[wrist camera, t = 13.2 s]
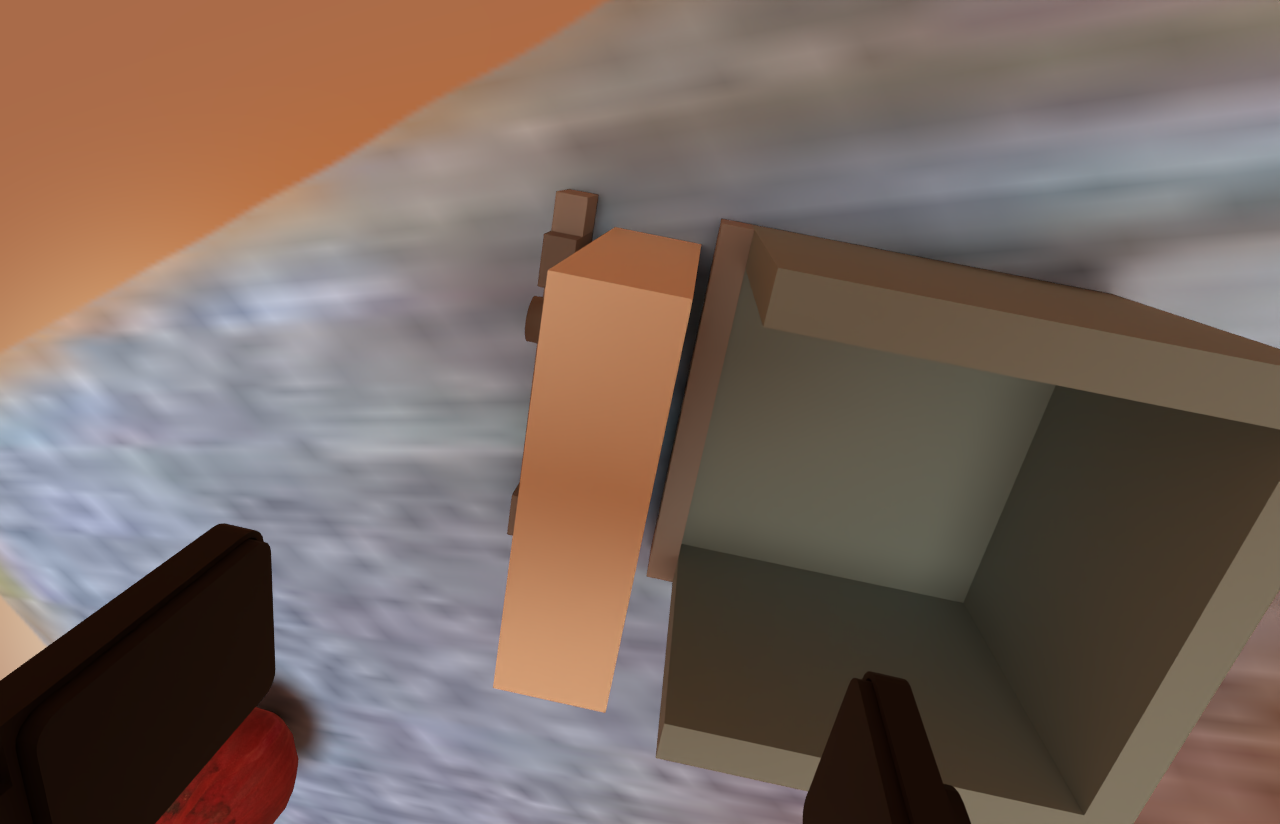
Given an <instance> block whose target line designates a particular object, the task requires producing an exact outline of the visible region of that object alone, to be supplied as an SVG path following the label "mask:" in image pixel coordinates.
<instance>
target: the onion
mask: <svg viewBox="0 0 1280 824" xmlns="http://www.w3.org/2000/svg"><path fill="white" fill-rule="evenodd" d="M297 767H298V756H297V752H296V748H295V743H294V739H293V734H292V733H291V731H290V730H289V728H288V727H287V725H286V724H285V722H284V721H283V720H282V719H281V718H280V717H279V716H278V715H277V714H275V713H273V712H270V711H267V710H264V709H260V708H258V707H255V708H254V709H253V711H252V712H251V713H250V714H249V715H248V716H247V718H246V719H245V720H244V721H243V722H242V723H241V725H240V726H239V727H238V728H237V729H236V730H235V731H234V733H233V734H232V735H231V736H230V737H229V738H228V740H227V741H226V742H225V743H224V744H223V745H222V747H221V748H220V749H219V750H218V751H217V752H216V754H215V755H214V756H213V757H212V758H211V759H210V761H209V762H208V763H207V764H206V765H205V766H204V768H203V769H202V770H201V771H200V772H199V773H198V775H197V776H196V777H195V778H194V779H193V780H192V782H191V783H190V784H189V785H188V786H187V787H186V789H185V790H184V791H183V792H182V793H181V794H180V795H179V797H178V798H177V799H176V800H175V801H174V802H173V804H172V805H171V806H170V807H169V808H168V809H167V811H166V812H165V813H164V814H163V815H162V816H161V818H160V819H159V820H158V821H157V822H156V823H155V824H273V823H274V822H275V821H276V819H277V818H278V817H279V816H280V814H281V813H282V812H283V810H284V809H285V808H286V806H287V803H288V801H289V799H290V796H291V794H292V792H293V789H294V784H295V779H296V774H297Z"/></svg>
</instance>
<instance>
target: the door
mask: <svg viewBox="0 0 1280 824" xmlns="http://www.w3.org/2000/svg"><path fill="white" fill-rule="evenodd" d="M700 250H701V244H697V243H692V242H687V241H682V240H677V239H672V238H667V237H662V236H657V235H652V234H647V233H642V232H637V231H632V230H627V229H622V228H617V227H614V228H613V229H611V230H610V231H608V232H607V233H605V234H603V235H602V236H600V237H599V238H597V239H596V240H594V241H593V242H591V243H589V244H588V245H586V246H585V247H583V248H582V249H580V250H578V251H577V252H575V253H574V254H572V255H571V256H569V257H568V258H566V259H564V260H563V261H561V262H560V263H558V264H557V265H555V266H554V267H552V268H550V269H549V270H548V272H547V280H546V288H545V295H544V298H543V297H538V296H534V297H533V298H532V300H531V303H530V305H529V309H528V313H527V317H526V324H525V339H526V341H529V342H534V343H538V349H537V356H536V364H535V372H534V379H533V387H532V395H531V402H530V410H529V418H528V425H527V433H526V440H525V448H524V456H523V463H522V471H521V479H520V486H519V494H518V502H517V509H516V517H515V524H514V532H513V540H512V547H511V555H510V563H509V570H508V578H507V586H506V593H505V601H504V609H503V616H502V624H501V631H500V639H499V647H498V654H497V662H496V670H495V677H494V685H493V688H497V689H501V690H506V691H510V692H514V693H519V694H523V695H528V696H532V697H537V698H541V699H546V700H550V701H555V702H559V703H564V704H568V705H573V706H577V707H582V708H586V709H591V710H595V711H600V712H604V713H605V712H606V707H607V702H608V698H609V693H610V688H611V683H612V679H613V674H614V669H615V664H616V660H617V655H618V650H619V646H620V641H621V636H622V631H623V627H624V622H625V617H626V612H627V608H628V603H629V598H630V594H631V589H632V584H633V579H634V575H635V570H636V565H637V560H638V556H639V551H640V546H641V542H642V537H643V532H644V527H645V523H646V518H647V513H648V508H649V504H650V499H651V494H652V490H653V485H654V480H655V475H656V471H657V466H658V461H659V456H660V452H661V447H662V442H663V438H664V433H665V428H666V423H667V419H668V414H669V409H670V405H671V400H672V395H673V390H674V386H675V381H676V376H677V371H678V367H679V362H680V357H681V353H682V348H683V343H684V338H685V334H686V329H687V324H688V319H689V315H690V310H691V305H692V301H693V295H694V288H695V282H696V275H697V269H698V263H699V256H700Z"/></svg>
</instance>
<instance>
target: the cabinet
mask: <svg viewBox="0 0 1280 824" xmlns="http://www.w3.org/2000/svg"><path fill="white" fill-rule="evenodd" d="M597 201H598V195H597V194H592V193H587V192H582V191H577V190H571V189H567V190H562V191H556V199H555V207H554V215H553V223H552V231H550V232H548V233H545V234H544V239H543V247H542V255H541V263H540V271H539V279H538V286H539V287H544V294H543V298H544V295H545V288H546V280H547V272H548V270H549V269H550V268H552V267H554V266H555V265H557V264H558V263H560V262H561V261H563V260H564V259H566V258H568V257H569V256H571V255H572V254H574V253H575V252H577V251H578V250H580V249H582V248H583V247H585V246H586V245H588V244H589V243H591V242H592V235H593V228H594V221H595V215H596V208H597ZM537 349H538V343H537ZM537 349H536V356H537ZM535 364H536V357H535ZM534 372H535V365H534ZM533 379H534V373H533ZM532 387H533V381H532ZM531 395H532V389H531ZM530 402H531V397H530ZM529 410H530V405H529ZM528 418H529V413H528ZM527 425H528V421H527ZM526 433H527V429H526ZM525 440H526V437H525ZM524 448H525V444H524ZM523 456H524V452H523ZM522 463H523V460H522ZM521 471H522V468H521ZM520 479H521V476H520ZM519 486H520V483H519V484H518V486H517V488H516V489H515V491H514V493H513V494H512V499H511V508H510V516H509V524H508V532H507V534H508V535H513V532H514V524H515V517H516V509H517V502H518V494H519ZM512 540H513V539H512ZM647 577H652V578H657V579H661V580H666V581H671V582H673V583H672V594H671V604H670V614H669V625H668V635H667V646H666V656H665V666H664V677H663V687H662V698H661V708H660V718H659V729H658V739H657V749H656V758H659V759H663V760H668V761H672V762H677V763H682V764H686V765H691V766H695V767H700V768H704V769H709V770H713V771H718V772H722V773H727V774H731V775H736V776H741V777H745V778H750V779H754V780H759V781H763V782H768V783H772V784H777V785H781V786H786V787H790V788H795V789H800V790H804V791H809V788H810V786H811V783H812V780H813V778H814V775H815V772H816V770H817V767H818V765H819V762H820V759H821V757H822V754H823V751H824V749H825V746H826V743H827V741H828V738H829V736H830V733H831V730H832V728H833V725H834V722H835V720H836V717H837V714H838V712H839V709H840V707H841V704H842V701H843V699H844V696H845V693H846V691H847V688H848V685H849V683H850V681H851V680H852V679H853V678H858V679H862V678H863V676H864V674H865V673H866V672H867V671H872V672H876V673H880V674H885V675H889V676H894V677H898V678H902V679H906V680H907V681H908V682H909V684H910V686H911V689H912V692H913V695H914V698H915V701H916V704H917V707H918V710H919V713H920V716H921V719H922V722H923V725H924V728H925V731H926V734H927V737H928V740H929V743H930V746H931V749H932V752H933V755H934V758H935V761H936V764H937V767H938V769H939V772H940V775H941V778H942V781H943V784H947V785H951V786H953V787H954V788H955V789H956V790H957V791H958V792H959V794H960V796H961V798H962V800H963V802H964V805H965V808H966V810H967V813H968V816H969V819H970V822H971V824H1134V822H1135V820H1136V819H1137V817H1138V816H1139V814H1140V812H1141V811H1142V809H1143V808H1144V806H1145V804H1146V803H1147V801H1148V800H1149V798H1150V796H1151V795H1152V793H1153V792H1154V790H1155V788H1156V787H1157V785H1158V784H1159V782H1160V780H1161V779H1162V777H1163V775H1164V774H1165V772H1166V771H1167V769H1168V767H1169V766H1170V764H1171V763H1172V761H1173V759H1174V758H1175V756H1176V755H1177V753H1178V751H1179V750H1180V748H1181V747H1182V745H1183V743H1184V742H1185V740H1186V739H1187V737H1188V735H1189V734H1190V732H1191V731H1192V729H1193V727H1194V726H1195V724H1196V723H1197V721H1198V719H1199V718H1200V716H1201V715H1202V713H1203V711H1204V710H1205V708H1206V707H1207V705H1208V703H1209V702H1210V700H1211V699H1212V697H1213V695H1214V694H1215V692H1216V691H1217V689H1218V687H1219V686H1220V684H1221V683H1222V681H1223V679H1224V678H1225V676H1226V675H1227V673H1228V671H1229V670H1230V668H1231V667H1232V665H1233V663H1234V662H1235V660H1236V659H1237V657H1238V655H1239V654H1240V652H1241V651H1242V649H1243V647H1244V646H1245V644H1246V643H1247V641H1248V639H1249V638H1250V636H1251V635H1252V633H1253V631H1254V630H1255V628H1256V627H1257V625H1258V623H1259V622H1260V620H1261V619H1262V617H1263V615H1264V614H1265V612H1266V611H1267V609H1268V607H1269V606H1270V604H1271V603H1272V601H1273V599H1274V598H1275V596H1276V595H1277V593H1278V591H1279V590H1280V349H1278V348H1275V347H1272V346H1269V345H1266V344H1263V343H1260V342H1257V341H1254V340H1250V339H1247V338H1244V337H1241V336H1238V335H1235V334H1232V333H1229V332H1226V331H1223V330H1220V329H1217V328H1214V327H1211V326H1208V325H1205V324H1202V323H1199V322H1196V321H1193V320H1190V319H1187V318H1184V317H1180V316H1177V315H1174V314H1171V313H1168V312H1165V311H1162V310H1159V309H1156V308H1153V307H1150V306H1147V305H1144V304H1141V303H1138V302H1135V301H1132V300H1129V299H1126V298H1123V297H1120V296H1117V295H1113V294H1109V293H1104V292H1099V291H1094V290H1089V289H1083V288H1078V287H1073V286H1068V285H1063V284H1058V283H1052V282H1047V281H1042V280H1037V279H1032V278H1027V277H1021V276H1016V275H1011V274H1006V273H1001V272H996V271H990V270H985V269H980V268H975V267H970V266H965V265H959V264H954V263H949V262H944V261H939V260H934V259H928V258H923V257H918V256H913V255H908V254H902V253H897V252H892V251H887V250H882V249H877V248H871V247H866V246H861V245H856V244H851V243H846V242H840V241H835V240H830V239H825V238H820V237H815V236H809V235H804V234H799V233H794V232H789V231H784V230H778V229H773V228H768V227H763V226H758V225H752V224H747V223H742V222H737V221H732V220H727V219H721V223H720V228H719V233H718V237H717V242H716V247H715V251H714V256H713V261H712V265H711V270H710V275H709V279H708V284H707V289H706V293H705V298H704V303H703V307H702V312H701V317H700V321H699V326H698V331H697V335H696V340H695V345H694V349H693V354H692V359H691V363H690V368H689V373H688V377H687V382H686V387H685V392H684V396H683V401H682V406H681V410H680V415H679V420H678V424H677V429H676V434H675V438H674V443H673V448H672V452H671V457H670V462H669V466H668V471H667V476H666V480H665V485H664V490H663V494H662V499H661V504H660V508H659V513H658V518H657V522H656V527H655V532H654V536H653V541H652V546H651V551H650V557H649V564H648V570H647Z"/></svg>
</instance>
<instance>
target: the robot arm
mask: <svg viewBox="0 0 1280 824" xmlns="http://www.w3.org/2000/svg"><path fill="white" fill-rule="evenodd" d="M274 676H275V648H274V621H273V594H272V568H271V549H270V546H269V544H268V543H265V542H263V537H262V535H261V533H260V532H258V531H255V530H251V529H247V528H242V527H238V526H234V525H229V524H225V523H224V524H218V525H216V526H214V527H213V528H211V529H210V530H208V531H207V532H206V533H204V534H203V535H202V536H200V537H199V538H197V539H196V540H195V541H193V542H192V543H190V544H189V545H188V546H186V547H185V548H184V549H182V550H181V551H179V552H178V553H177V554H175V555H174V556H172V557H171V558H170V559H168V560H167V561H166V562H164V563H163V564H161V565H160V566H159V567H157V568H156V569H154V570H153V571H152V572H150V573H149V574H147V575H146V576H145V577H143V578H142V579H141V580H139V581H138V582H136V583H135V584H134V585H132V586H131V587H129V588H128V589H127V590H125V591H124V592H123V593H121V594H120V595H118V596H117V597H116V598H114V599H113V600H111V601H110V602H109V603H107V604H106V605H105V606H103V607H102V608H100V609H99V610H98V611H96V612H95V613H93V614H92V615H91V616H89V617H88V618H86V619H85V620H84V621H82V622H81V623H80V624H78V625H77V626H75V627H74V628H73V629H71V630H70V631H68V632H67V633H66V634H64V635H63V636H62V637H60V638H59V639H57V640H56V641H55V642H53V643H52V644H50V645H49V646H48V647H46V648H45V649H44V650H42V651H41V652H39V653H38V654H37V655H35V656H34V657H32V658H31V659H30V660H28V661H27V662H25V663H24V664H23V665H21V666H20V667H19V668H17V669H16V670H14V671H13V672H12V673H10V674H9V675H7V676H6V677H5V678H3V679H2V680H1V681H0V824H155V823H156V822H157V821H158V820H159V819H160V818H161V816H162V815H163V814H164V813H165V812H166V811H167V809H168V808H169V807H170V806H171V805H172V804H173V802H174V801H175V800H176V799H177V798H178V797H179V795H180V794H181V793H182V792H183V791H184V790H185V789H186V787H187V786H188V785H189V784H190V783H191V782H192V780H193V779H194V778H195V777H196V776H197V775H198V773H199V772H200V771H201V770H202V769H203V768H204V766H205V765H206V764H207V763H208V762H209V761H210V759H211V758H212V757H213V756H214V755H215V754H216V752H217V751H218V750H219V749H220V748H221V747H222V745H223V744H224V743H225V742H226V741H227V740H228V738H229V737H230V736H231V735H232V734H233V733H234V731H235V730H236V729H237V728H238V727H239V726H240V725H241V723H242V722H243V721H244V720H245V719H246V718H247V716H248V715H249V714H250V713H251V712H252V711H253V709H254V708H255V707H256V706H257V705H258V704H259V702H260V701H261V700H262V699H263V698H264V697H265V695H266V694H267V692H268V691H269V689H270V687H271V685H272V683H273V680H274ZM803 824H971V822H970V819H969V816H968V813H967V810H966V808H965V805H964V802H963V800H962V798H961V796H960V794H959V792H958V791H957V790H956V789H955V788H954V787H953V786H951V785H947V784H943V781H942V778H941V775H940V772H939V769H938V767H937V764H936V761H935V758H934V755H933V752H932V749H931V746H930V743H929V740H928V737H927V734H926V731H925V728H924V725H923V722H922V719H921V716H920V713H919V710H918V707H917V704H916V701H915V698H914V695H913V692H912V689H911V686H910V684H909V682H908V681H907V680H906V679H902V678H898V677H894V676H889V675H885V674H880V673H876V672H872V671H867V672H866V673H865V674H864V676H863V678H862V679H858V678H853V679H852V680H851V681H850V683H849V685H848V688H847V691H846V693H845V696H844V699H843V701H842V704H841V707H840V709H839V712H838V714H837V717H836V720H835V722H834V725H833V728H832V730H831V733H830V736H829V738H828V741H827V743H826V746H825V749H824V751H823V754H822V757H821V759H820V762H819V765H818V767H817V770H816V772H815V775H814V778H813V780H812V783H811V786H810V788H809V791H808V794H807V796H806V799H805V803H804V809H803Z"/></svg>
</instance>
